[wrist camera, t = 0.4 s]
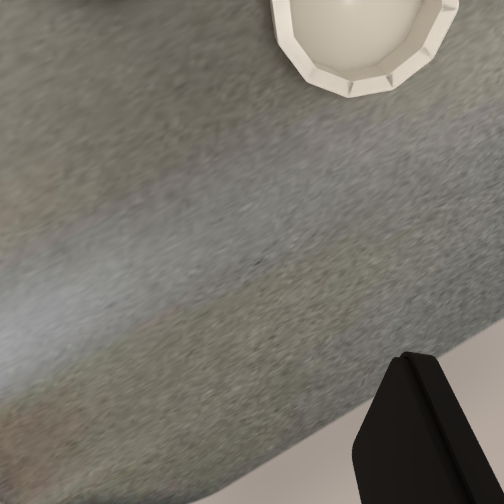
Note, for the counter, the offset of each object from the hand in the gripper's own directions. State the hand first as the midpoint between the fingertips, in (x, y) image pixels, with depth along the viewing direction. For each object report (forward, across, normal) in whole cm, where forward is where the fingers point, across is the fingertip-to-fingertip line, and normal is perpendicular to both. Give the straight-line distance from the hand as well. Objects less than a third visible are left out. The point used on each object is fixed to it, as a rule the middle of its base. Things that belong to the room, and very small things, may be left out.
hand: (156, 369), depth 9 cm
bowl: (+29, -8, -7) cm, 31 cm away
